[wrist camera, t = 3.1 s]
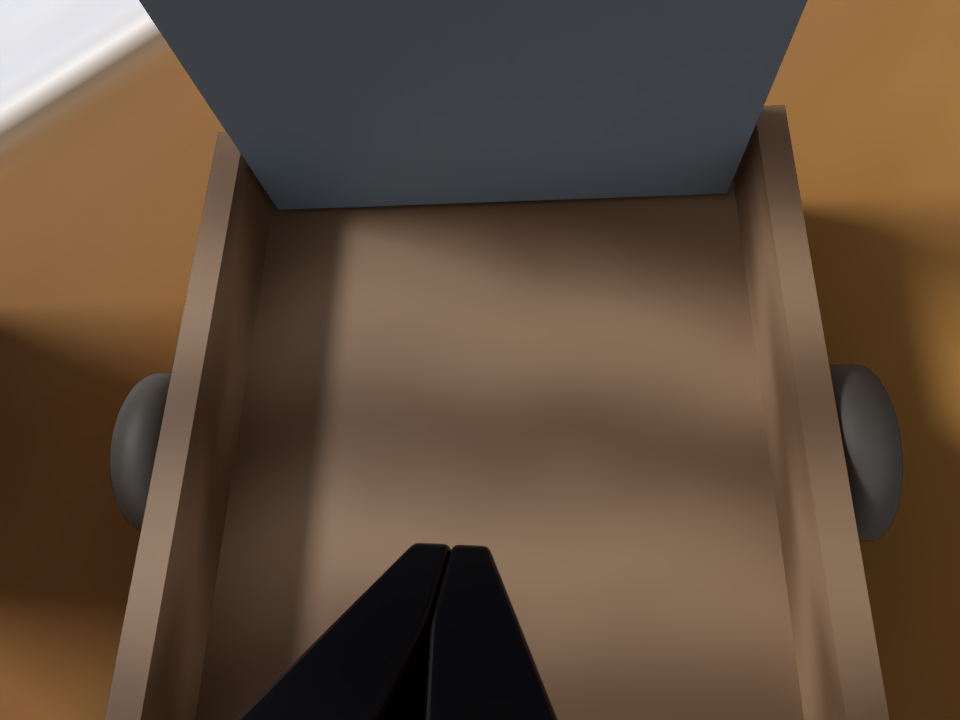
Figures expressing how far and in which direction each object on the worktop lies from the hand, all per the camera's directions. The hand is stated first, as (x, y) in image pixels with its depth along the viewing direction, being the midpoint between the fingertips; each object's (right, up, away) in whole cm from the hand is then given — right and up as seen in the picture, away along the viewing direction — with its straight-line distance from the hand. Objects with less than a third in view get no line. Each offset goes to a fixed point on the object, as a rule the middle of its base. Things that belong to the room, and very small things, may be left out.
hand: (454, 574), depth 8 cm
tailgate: (+1, +8, +14) cm, 16 cm away
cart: (+1, -1, +13) cm, 13 cm away
